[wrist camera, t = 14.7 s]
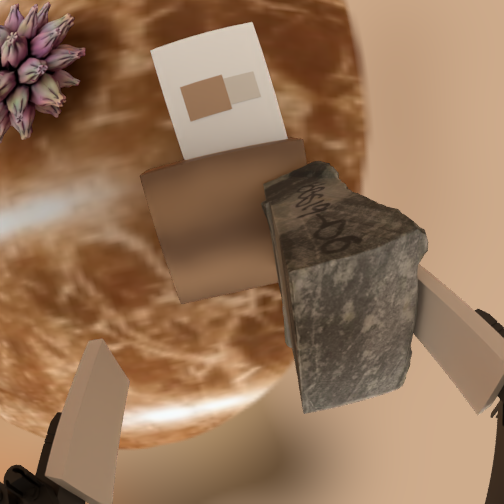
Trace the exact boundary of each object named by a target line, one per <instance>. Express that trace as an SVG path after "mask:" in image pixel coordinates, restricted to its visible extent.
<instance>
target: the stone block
mask: <svg viewBox="0 0 504 504" xmlns="http://www.w3.org/2000/svg"><path fill="white" fill-rule="evenodd" d="M263 186H264V192H265V199H266V200H265V201H263V202H262V203H261V206H262V209H263V211H264V214H265V216H266V218H267V221H268V224H269V229H270V233H271V239H272V245H273V252H274V258H275V265H276V271H277V277H278V283H279V287H280V292H281V297H282V303H283V314H284V326H285V343H286V344H287V345H288V346H289V347H291V348H292V350H293V354H294V359H295V365H296V371H297V375H298V382H299V389H300V395H301V401H302V407H303V412H304V414H305V413H311V412H316V411H321V410H326V409H331V408H335V407H340V406H343V405H347V404H351V403H355V402H359V401H363V400H365V399H369V398H372V397H376V396H380V395H383V394H386V393H389V392H392V391H394V390H396V389H399V388H400V387H401V386H403V384H404V381H405V379H406V374H407V372H408V369H409V367H410V359H411V355H412V351H411V341H412V336H413V331H414V326H415V320H416V314H417V299H418V289H419V288H418V279H417V271H418V264H419V262H420V261H421V259H422V258H423V256H424V254H425V253H426V252H427V251H428V240H427V236H426V233H425V230H424V229H422V228H420V227H419V226H418V225H417V224H416V223H414V221H412V220H411V219H409V218H408V217H407V216H406V215H404V214H402V213H401V212H400V211H399V210H398V209H395V208H390V207H386V206H384V205H382V204H378V203H377V202H375V201H373V200H370V199H369V198H367V197H365V196H362V195H360V194H358V193H354V192H352V191H351V190H348V188H347V186H346V184H345V183H343V182H341V180H340V179H339V175H338V172H337V171H336V170H335V169H334V167H333V166H330V164H329V163H325V162H321V161H315V162H312V163H310V164H307V165H305V166H303V167H301V168H299V169H296V170H294V171H292V172H290V173H288V174H285V175H282V176H280V177H279V178H277V179H275V180H272V181H269V182H267V183H264V184H263Z"/></svg>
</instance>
